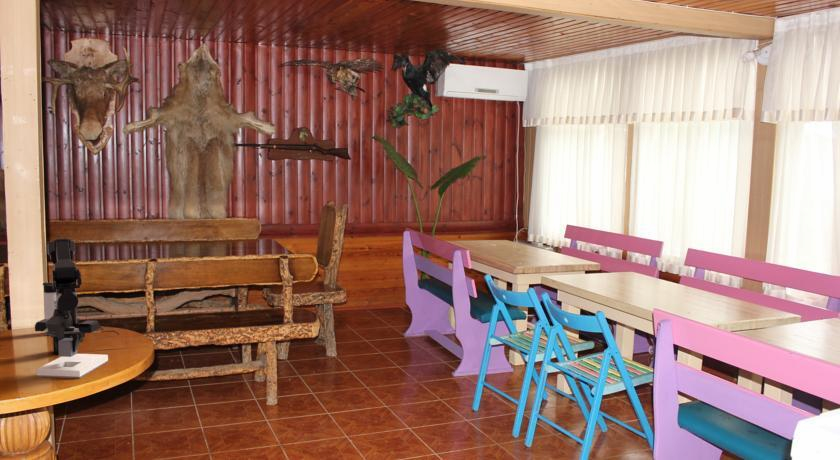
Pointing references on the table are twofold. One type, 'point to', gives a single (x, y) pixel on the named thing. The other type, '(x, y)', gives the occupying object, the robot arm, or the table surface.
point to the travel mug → (49, 301)
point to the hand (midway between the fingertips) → (68, 351)
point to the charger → (66, 347)
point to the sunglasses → (98, 331)
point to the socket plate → (72, 366)
